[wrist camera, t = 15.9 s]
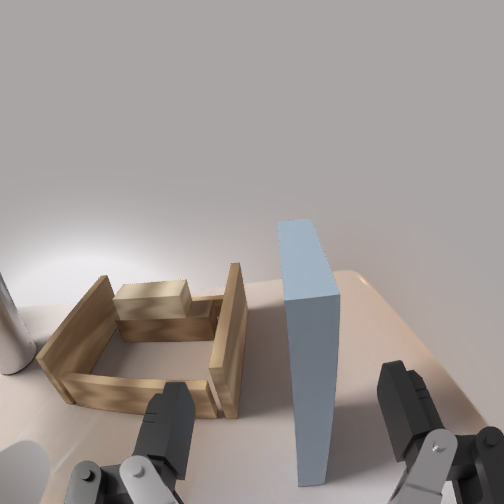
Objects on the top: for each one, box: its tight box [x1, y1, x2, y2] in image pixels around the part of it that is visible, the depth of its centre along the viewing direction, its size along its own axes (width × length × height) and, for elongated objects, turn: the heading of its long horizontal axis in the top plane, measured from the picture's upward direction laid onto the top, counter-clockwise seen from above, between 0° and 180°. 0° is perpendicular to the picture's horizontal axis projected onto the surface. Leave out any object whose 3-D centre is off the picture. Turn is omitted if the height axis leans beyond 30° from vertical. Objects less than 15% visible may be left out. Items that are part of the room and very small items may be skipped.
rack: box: [35, 263, 248, 419], centre depth 37 cm, size 22×20×8 cm
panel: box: [277, 219, 340, 487], centre depth 20 cm, size 2×9×20 cm, turn 178°
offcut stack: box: [112, 280, 218, 342], centre depth 41 cm, size 14×4×8 cm, turn 87°
